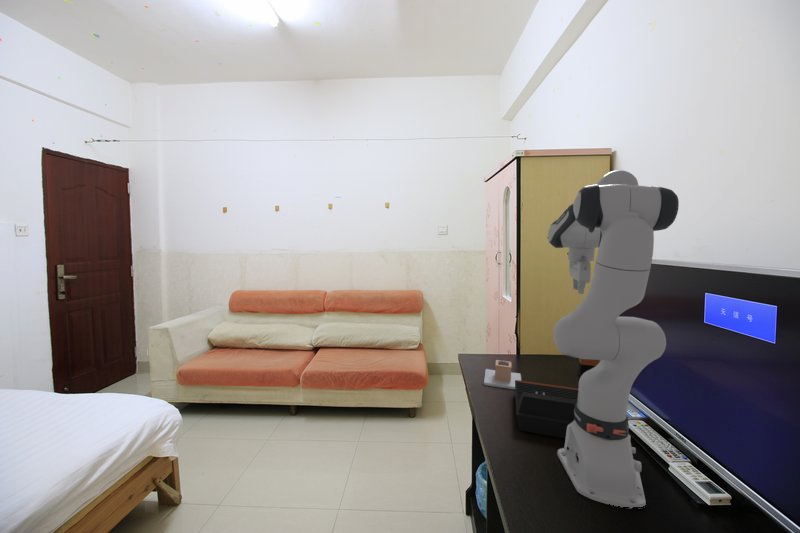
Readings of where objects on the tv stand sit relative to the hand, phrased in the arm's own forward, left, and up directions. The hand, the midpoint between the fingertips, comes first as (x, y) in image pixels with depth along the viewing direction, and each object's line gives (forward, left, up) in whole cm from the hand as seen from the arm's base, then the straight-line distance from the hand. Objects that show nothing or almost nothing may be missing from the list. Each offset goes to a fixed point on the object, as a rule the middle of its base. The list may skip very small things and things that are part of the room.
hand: (578, 291), depth 134 cm
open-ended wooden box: (-6, +26, -36) cm, 45 cm away
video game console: (-30, +8, -38) cm, 49 cm away
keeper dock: (-6, +26, -37) cm, 46 cm away
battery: (+10, -8, -37) cm, 40 cm away
